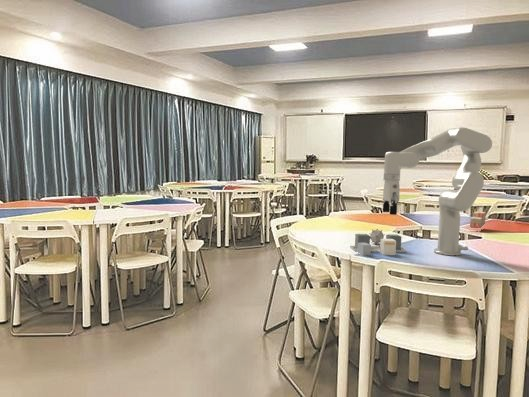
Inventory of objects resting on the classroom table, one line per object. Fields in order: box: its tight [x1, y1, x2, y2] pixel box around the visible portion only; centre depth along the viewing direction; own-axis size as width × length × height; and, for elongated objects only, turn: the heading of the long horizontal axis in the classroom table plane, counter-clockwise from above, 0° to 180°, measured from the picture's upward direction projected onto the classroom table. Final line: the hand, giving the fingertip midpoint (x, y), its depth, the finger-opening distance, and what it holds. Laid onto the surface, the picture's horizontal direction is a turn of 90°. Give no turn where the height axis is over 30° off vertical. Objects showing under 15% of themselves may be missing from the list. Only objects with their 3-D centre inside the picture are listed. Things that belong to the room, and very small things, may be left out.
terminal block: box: [356, 243, 372, 256], centre depth 206 cm, size 4×6×5 cm, turn 14°
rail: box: [349, 233, 407, 253], centre depth 217 cm, size 26×9×8 cm, turn 93°
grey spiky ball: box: [368, 228, 386, 246], centre depth 234 cm, size 9×8×10 cm
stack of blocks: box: [469, 211, 487, 228], centre depth 297 cm, size 21×6×12 cm, turn 144°
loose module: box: [379, 238, 397, 256], centre depth 208 cm, size 6×5×7 cm
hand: (389, 213), depth 207 cm, fingers open, 9 cm apart
